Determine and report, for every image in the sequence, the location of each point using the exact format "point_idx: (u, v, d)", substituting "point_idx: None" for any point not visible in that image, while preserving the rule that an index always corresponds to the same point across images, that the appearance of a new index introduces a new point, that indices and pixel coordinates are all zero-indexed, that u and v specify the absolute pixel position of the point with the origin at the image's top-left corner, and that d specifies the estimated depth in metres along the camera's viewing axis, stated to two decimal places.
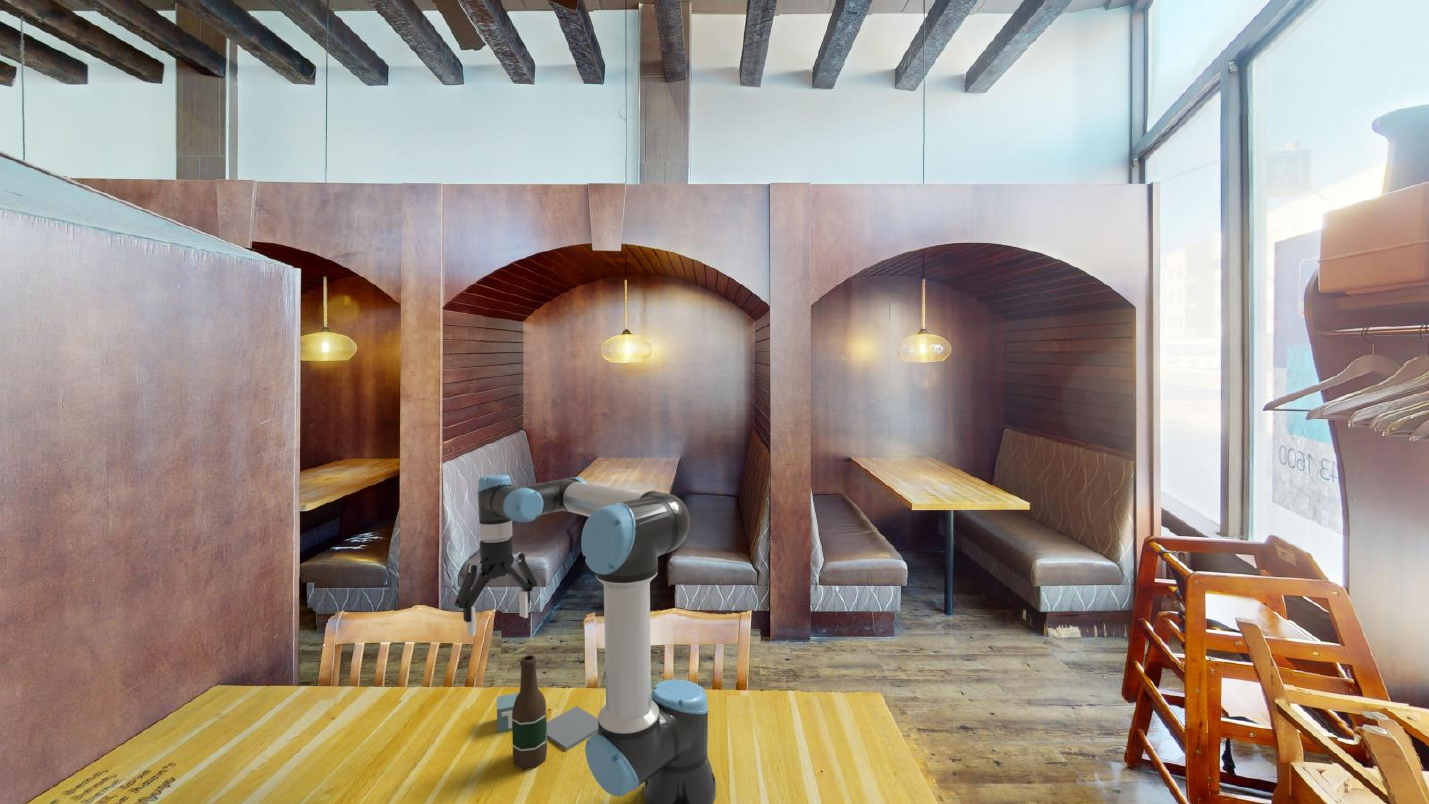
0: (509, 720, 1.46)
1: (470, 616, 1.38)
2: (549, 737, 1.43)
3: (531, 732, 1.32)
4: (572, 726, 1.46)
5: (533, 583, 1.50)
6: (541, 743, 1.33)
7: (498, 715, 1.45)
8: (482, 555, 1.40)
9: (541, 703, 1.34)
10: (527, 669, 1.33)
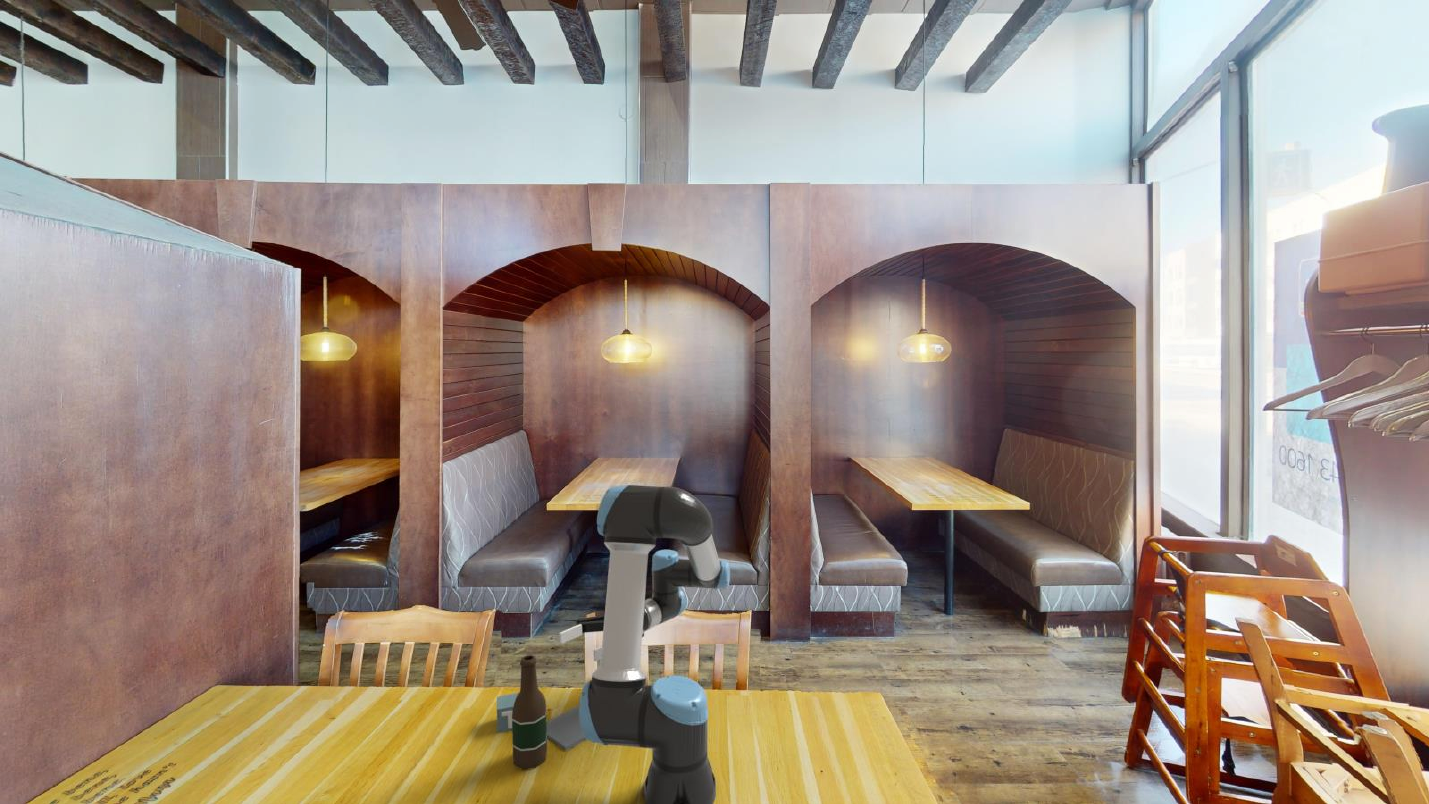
0: (509, 720, 1.46)
1: None
2: (549, 737, 1.43)
3: (531, 732, 1.32)
4: (572, 726, 1.46)
5: None
6: (541, 743, 1.33)
7: (498, 715, 1.45)
8: None
9: (541, 703, 1.34)
10: (527, 669, 1.33)
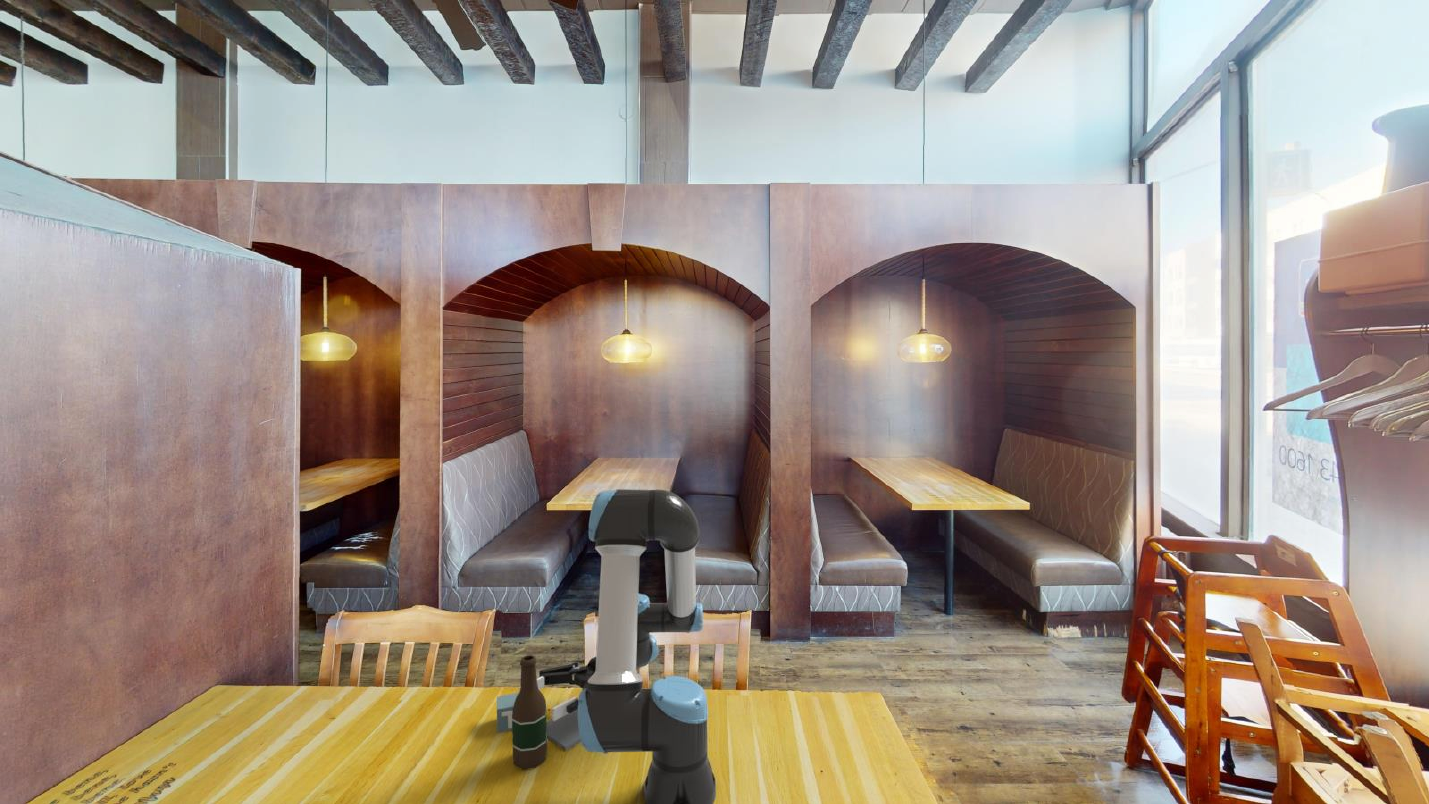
0: (509, 720, 1.46)
1: None
2: (549, 737, 1.43)
3: (531, 733, 1.31)
4: (572, 726, 1.46)
5: None
6: (541, 743, 1.33)
7: (498, 715, 1.45)
8: None
9: (541, 703, 1.34)
10: (527, 669, 1.33)
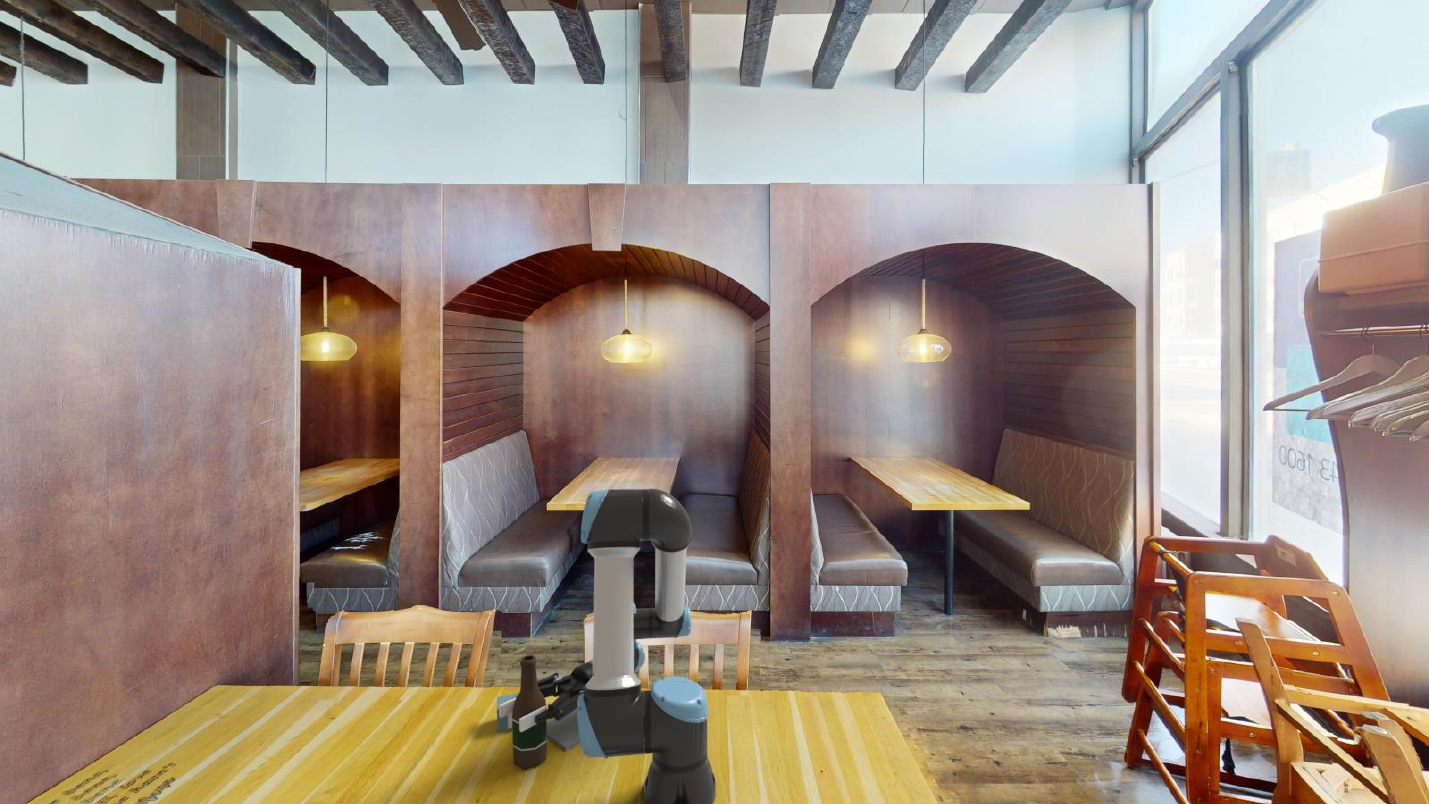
0: (509, 720, 1.46)
1: None
2: (549, 737, 1.43)
3: (531, 732, 1.32)
4: (572, 726, 1.46)
5: (558, 707, 1.33)
6: (541, 743, 1.33)
7: (498, 715, 1.45)
8: None
9: (541, 703, 1.34)
10: (527, 669, 1.33)
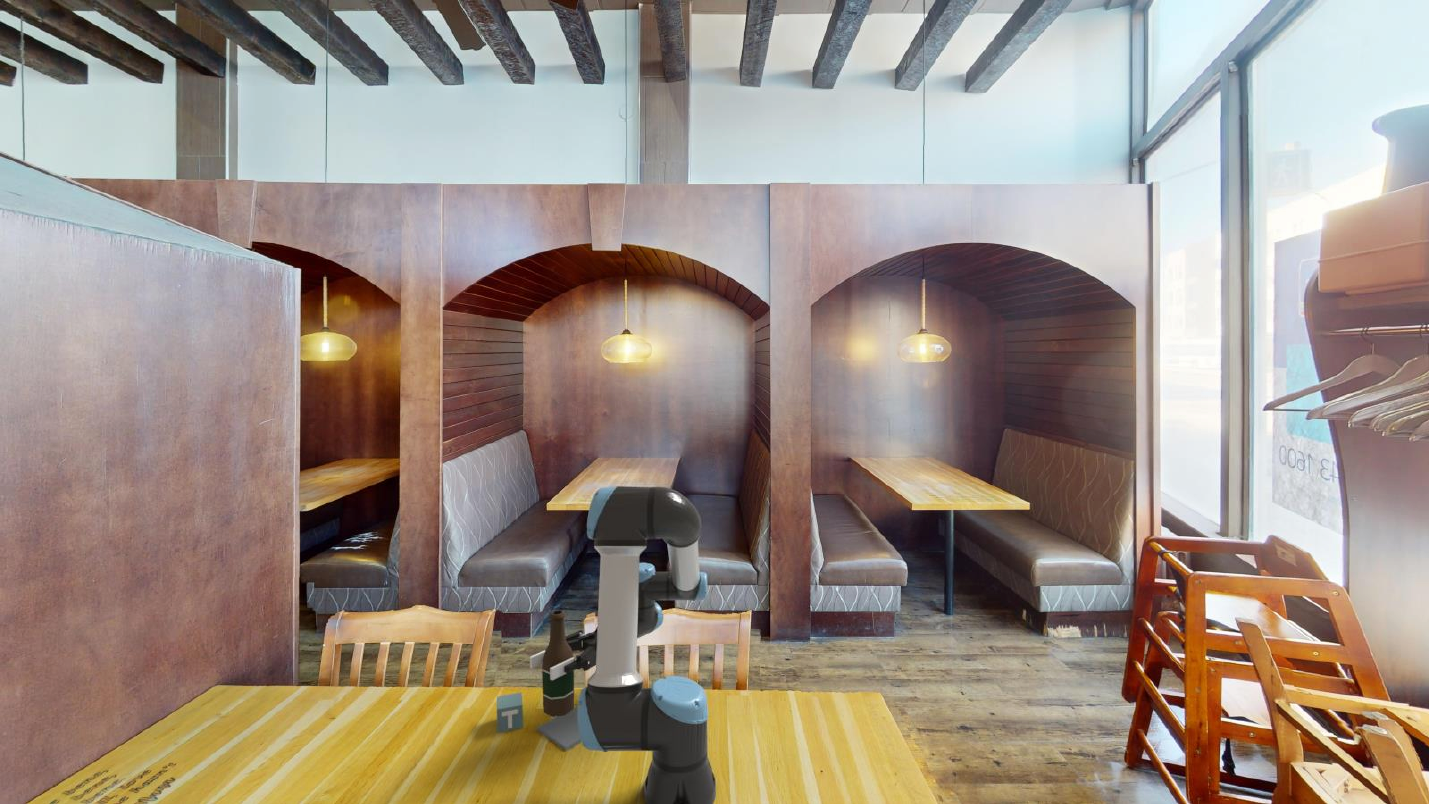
0: (509, 720, 1.46)
1: None
2: (549, 737, 1.43)
3: (560, 682, 1.39)
4: (572, 726, 1.46)
5: (586, 658, 1.41)
6: (570, 693, 1.41)
7: (498, 715, 1.45)
8: None
9: (569, 655, 1.41)
10: (556, 622, 1.40)
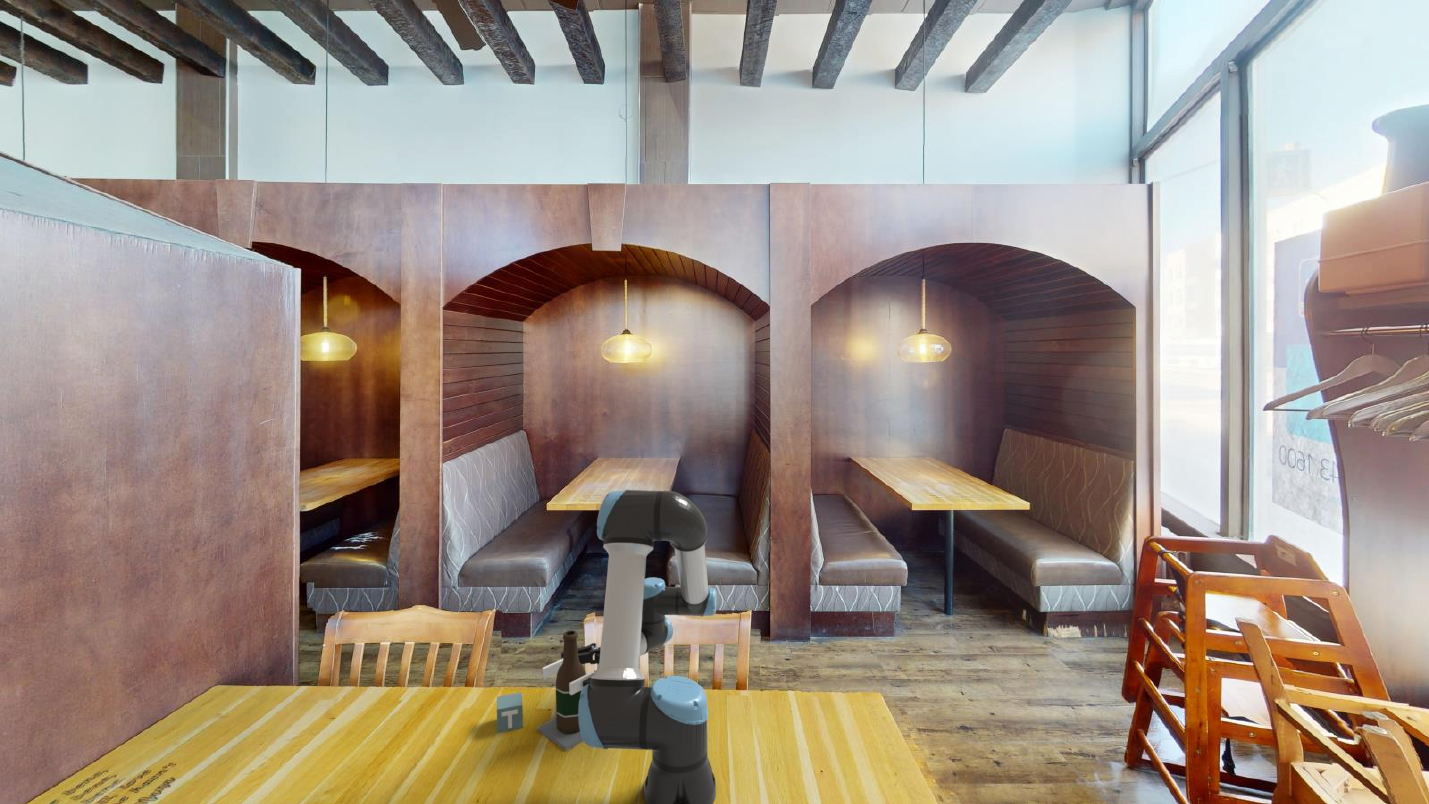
0: (509, 720, 1.46)
1: None
2: (549, 737, 1.43)
3: (573, 701, 1.42)
4: None
5: None
6: None
7: (498, 715, 1.45)
8: None
9: (582, 674, 1.44)
10: (569, 643, 1.43)
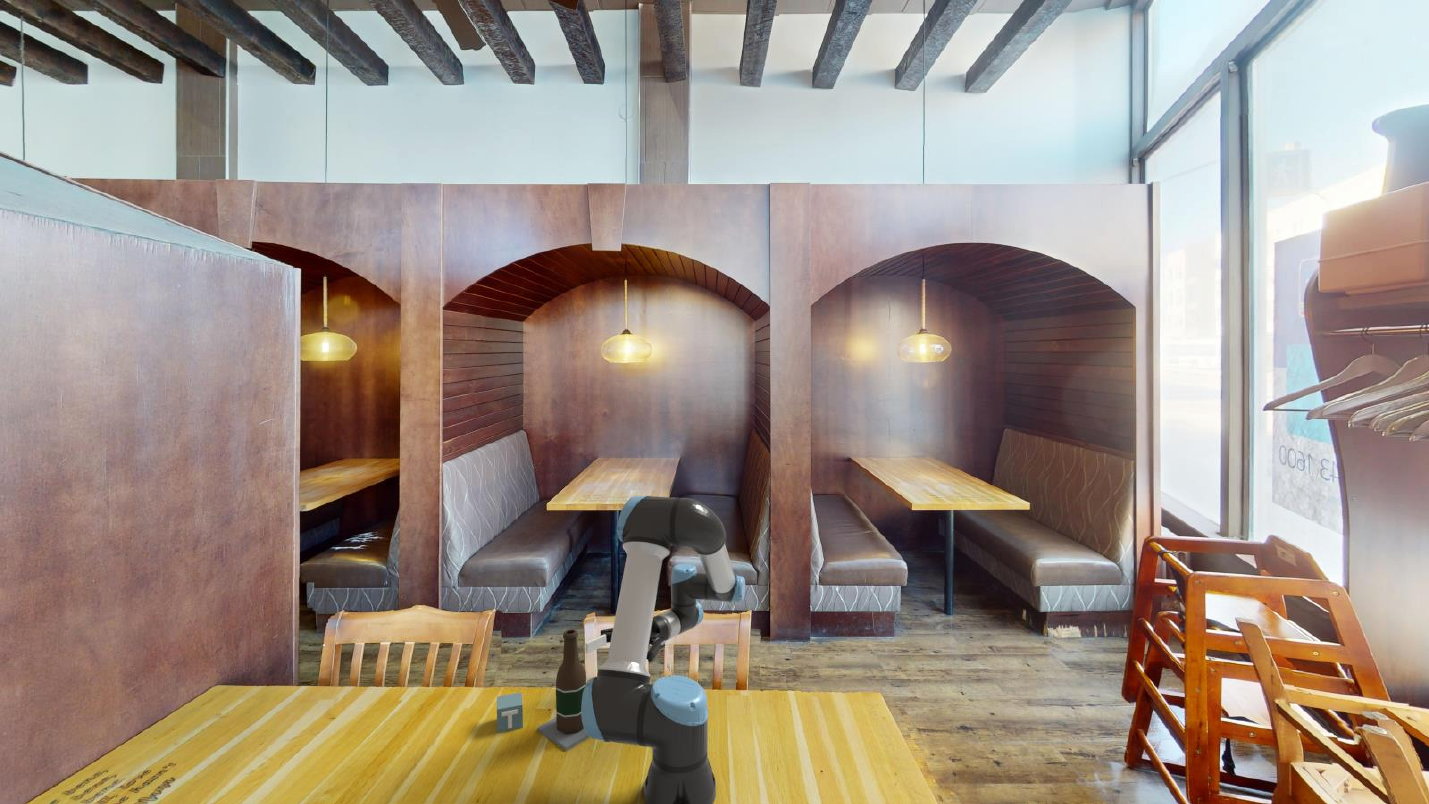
0: (509, 720, 1.46)
1: None
2: (549, 737, 1.43)
3: (573, 700, 1.43)
4: None
5: (649, 650, 1.53)
6: None
7: (498, 715, 1.45)
8: None
9: (582, 673, 1.45)
10: (570, 642, 1.44)
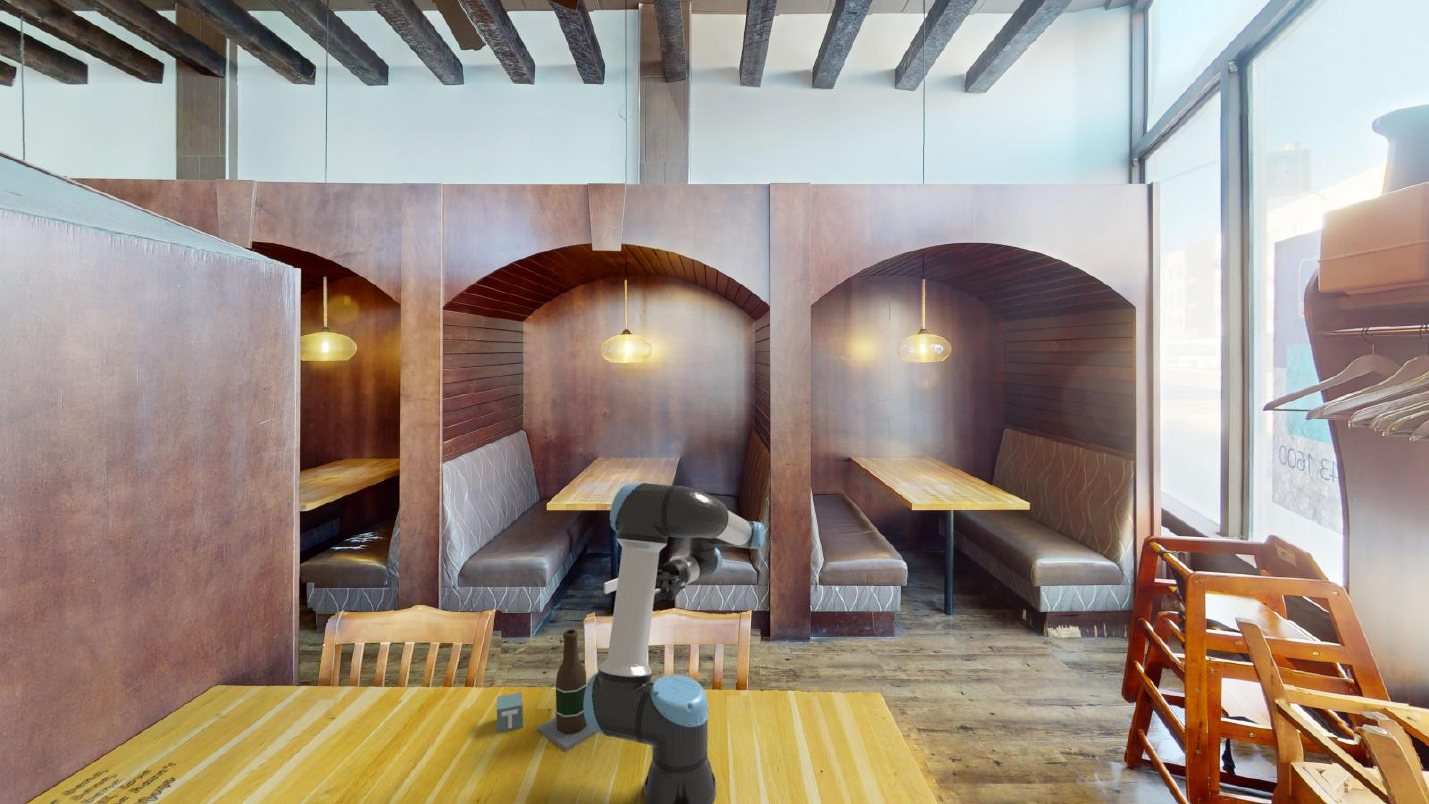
0: (509, 720, 1.46)
1: None
2: (549, 737, 1.43)
3: (573, 700, 1.43)
4: None
5: (670, 589, 1.50)
6: (582, 711, 1.45)
7: (498, 715, 1.45)
8: None
9: (582, 673, 1.45)
10: (570, 642, 1.44)
